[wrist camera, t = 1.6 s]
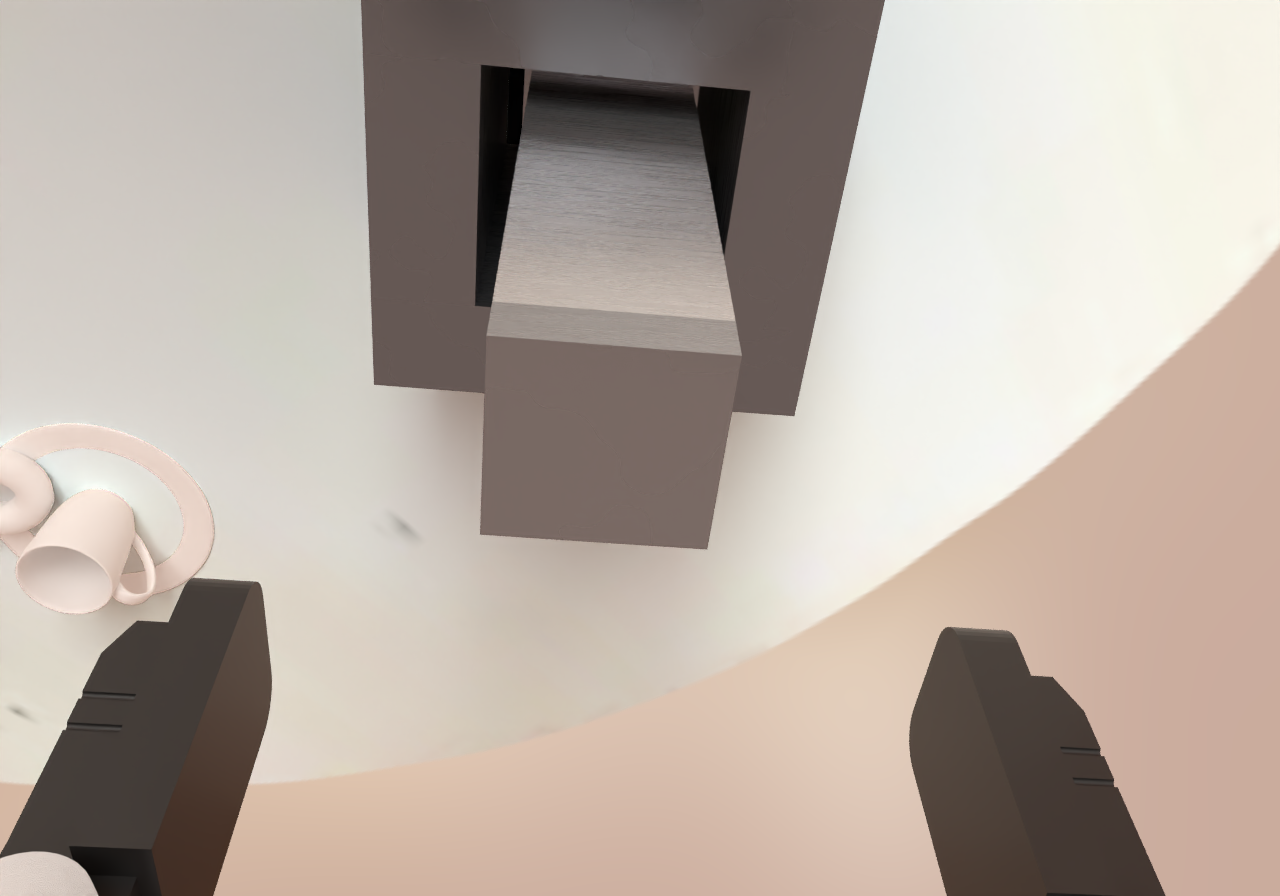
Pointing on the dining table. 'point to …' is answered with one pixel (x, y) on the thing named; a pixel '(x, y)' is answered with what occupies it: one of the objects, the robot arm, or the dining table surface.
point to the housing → (621, 48)
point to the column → (608, 322)
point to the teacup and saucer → (92, 524)
